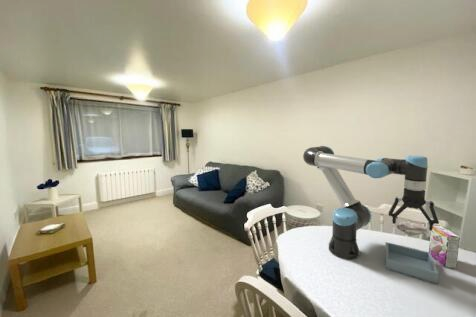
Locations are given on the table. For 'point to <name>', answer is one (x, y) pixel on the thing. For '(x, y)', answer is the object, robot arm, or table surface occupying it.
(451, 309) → the table surface
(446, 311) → the table surface
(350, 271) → the table surface
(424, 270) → the bin
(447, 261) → the candy bar box
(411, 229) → the fossil
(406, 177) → the robot arm
